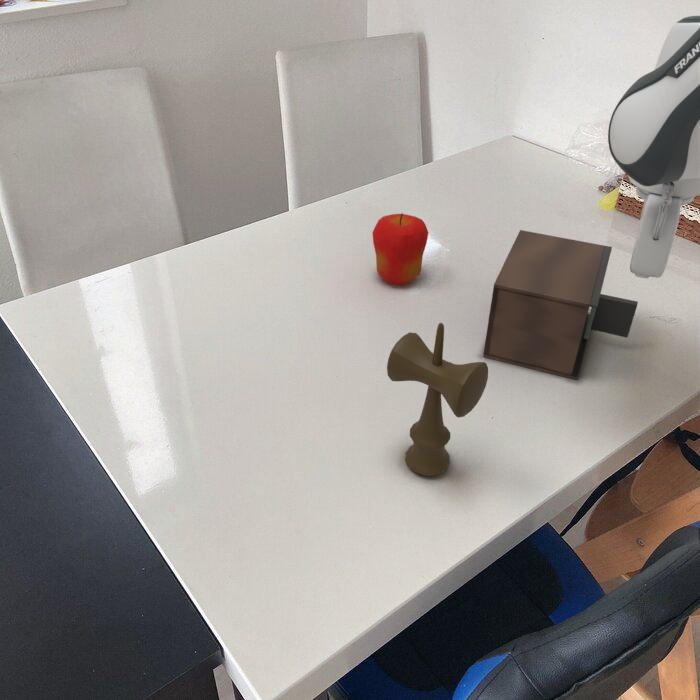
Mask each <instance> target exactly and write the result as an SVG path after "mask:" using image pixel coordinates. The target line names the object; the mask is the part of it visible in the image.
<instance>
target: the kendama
mask: <svg viewBox="0 0 700 700" xmlns="http://www.w3.org/2000/svg"><path fill="white" fill-rule="evenodd" d="M444 339H445V324H444V323H443V322H439V323H438V325H437V328H436V333H435V340H434V346H433V352H432V350H431V349H430V348H429V347H428V345H427V344H426V343H425V341H423V339H422V338H421V337H420V335H419V334H418V333H417V332H407V333H406V334H405V335H402V336H401V337H400V338H399V340H398V341H397V342H396V343H395V344H394V345H393V347H392V349H391V351H390V353H389V356H388V359H387V364H386V365H387V366H386V373H387V377H388V378H389V379H390V381H391V382H417V383H422V384H423V385H426V386H427V390H426V396H425V400H424V403H423V407H422V410H421V413H420V416H419V419H418V421H416V422H414V423H413V424H412V425H411V427H410V429H409V437H410V438H411V440H412V442H413V444H411V445H410V446H409V448H408V449H407V450H406V451H405V454H404V455H405V456H404V461H405V464H406V465H407V467H408V468H409V469H411V470H412V471H413V472H414V473H416V474H419V475H422V476H426V477H434V476H438V475H441V474H442V473H444V472H445V471H446V470H447V469H448V467H449V466H450V463H451V455H450V453H449V451H448V450H447V449H446V445H448V444H449V442H450V440H451V431H450V430H449V429H448V427H447V426H446V425H445V423H444V418H443V417H444V416H443V407H442V405H443V404H442V397H443V398H444V400H445V402H446V403H447V405H448V406H449V409H450V410H451V411H452V413H453V415H454V416H455V418H464V417H465V416H467V415H468V414H469V413H471V412H472V411H473V410H474V408H475V407H476V406H477V405H478V403H479V401H480V400H481V398H482V396H483V394H484V392H485V389H486V387H487V383H488V379H489V366H488V365H487V362H485V361H475V362H474V361H473V362H469V363H462V364H457V363H453V362H450V361H448V360H445V359H443V355H444Z"/></svg>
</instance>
